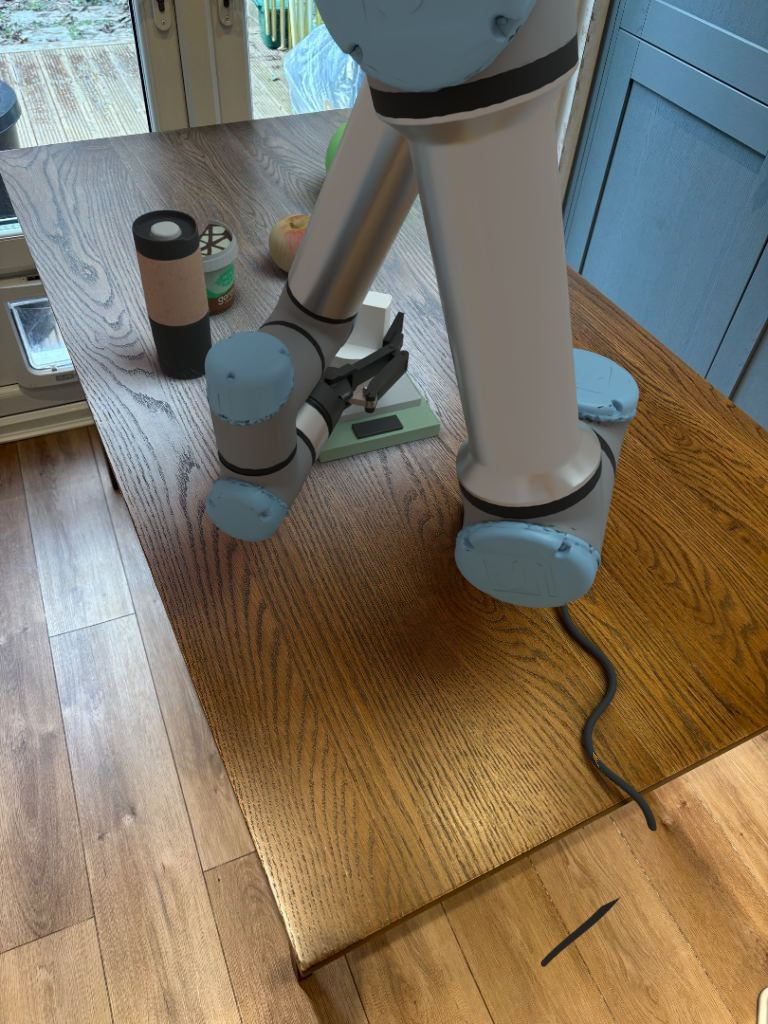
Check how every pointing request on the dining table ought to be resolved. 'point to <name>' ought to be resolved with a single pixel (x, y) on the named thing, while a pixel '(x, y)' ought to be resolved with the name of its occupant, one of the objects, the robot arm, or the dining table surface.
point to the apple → (287, 239)
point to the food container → (218, 265)
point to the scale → (382, 423)
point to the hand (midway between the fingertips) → (364, 312)
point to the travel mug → (174, 290)
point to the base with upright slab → (366, 332)
